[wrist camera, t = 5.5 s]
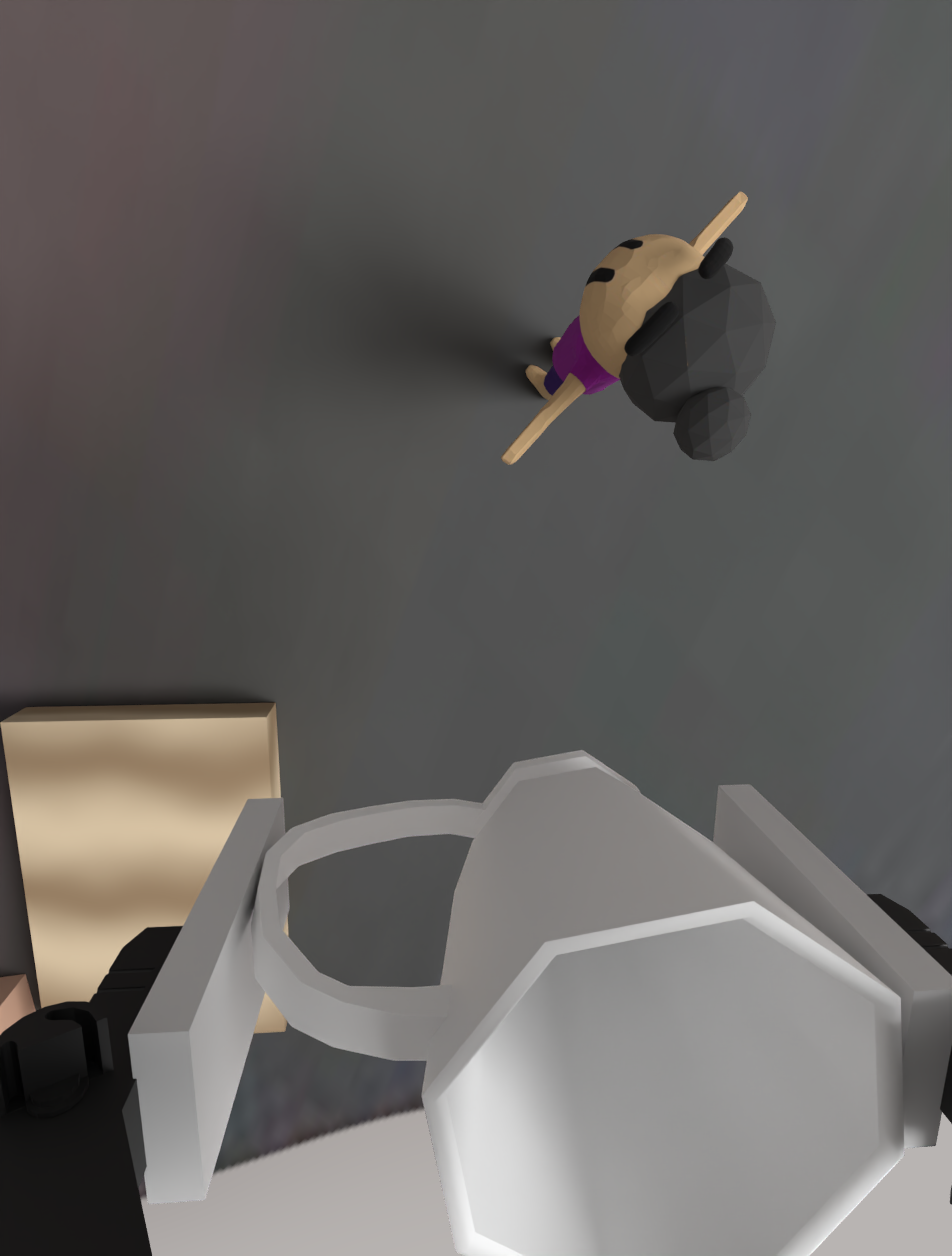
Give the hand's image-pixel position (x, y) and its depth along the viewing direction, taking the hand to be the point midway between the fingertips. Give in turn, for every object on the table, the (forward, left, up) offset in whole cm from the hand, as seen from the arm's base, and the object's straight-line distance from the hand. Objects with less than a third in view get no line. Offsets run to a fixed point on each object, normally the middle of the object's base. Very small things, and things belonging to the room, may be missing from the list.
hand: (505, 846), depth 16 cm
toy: (-12, +5, -17) cm, 22 cm away
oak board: (+10, -14, -17) cm, 24 cm away
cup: (0, 0, -1) cm, 1 cm away
